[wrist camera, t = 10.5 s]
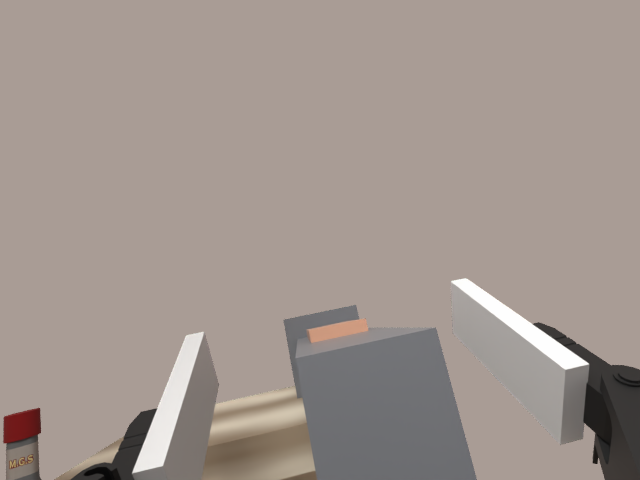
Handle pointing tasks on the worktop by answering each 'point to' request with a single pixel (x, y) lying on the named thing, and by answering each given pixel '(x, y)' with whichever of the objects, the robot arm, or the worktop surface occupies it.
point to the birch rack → (248, 441)
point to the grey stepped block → (376, 400)
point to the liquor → (22, 445)
